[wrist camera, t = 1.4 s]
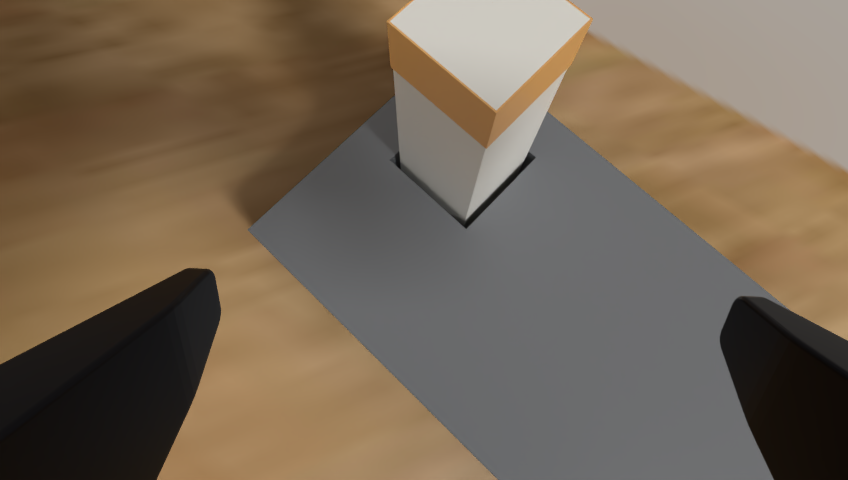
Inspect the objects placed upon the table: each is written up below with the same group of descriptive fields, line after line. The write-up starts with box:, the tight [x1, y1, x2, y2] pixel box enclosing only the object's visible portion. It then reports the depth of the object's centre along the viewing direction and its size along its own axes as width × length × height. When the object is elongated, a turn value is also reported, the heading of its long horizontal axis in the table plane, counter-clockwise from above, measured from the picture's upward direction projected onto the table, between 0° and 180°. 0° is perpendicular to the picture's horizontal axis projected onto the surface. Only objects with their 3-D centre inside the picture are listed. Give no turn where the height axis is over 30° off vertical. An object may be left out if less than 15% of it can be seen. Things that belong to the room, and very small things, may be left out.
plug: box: [387, 0, 593, 229], centre depth 19 cm, size 4×4×11 cm
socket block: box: [248, 95, 789, 480], centre depth 22 cm, size 20×12×3 cm, turn 46°
